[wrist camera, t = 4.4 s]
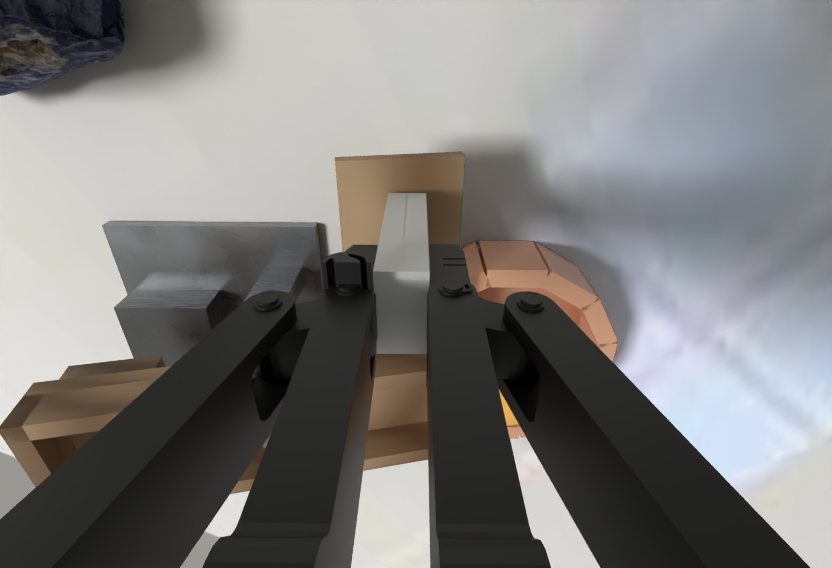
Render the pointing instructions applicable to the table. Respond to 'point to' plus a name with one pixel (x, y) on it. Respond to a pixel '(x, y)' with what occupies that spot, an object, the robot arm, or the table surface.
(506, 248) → the terracotta bowl
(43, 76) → the rock
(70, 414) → the lever
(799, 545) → the table surface
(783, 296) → the table surface
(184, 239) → the pivot base
